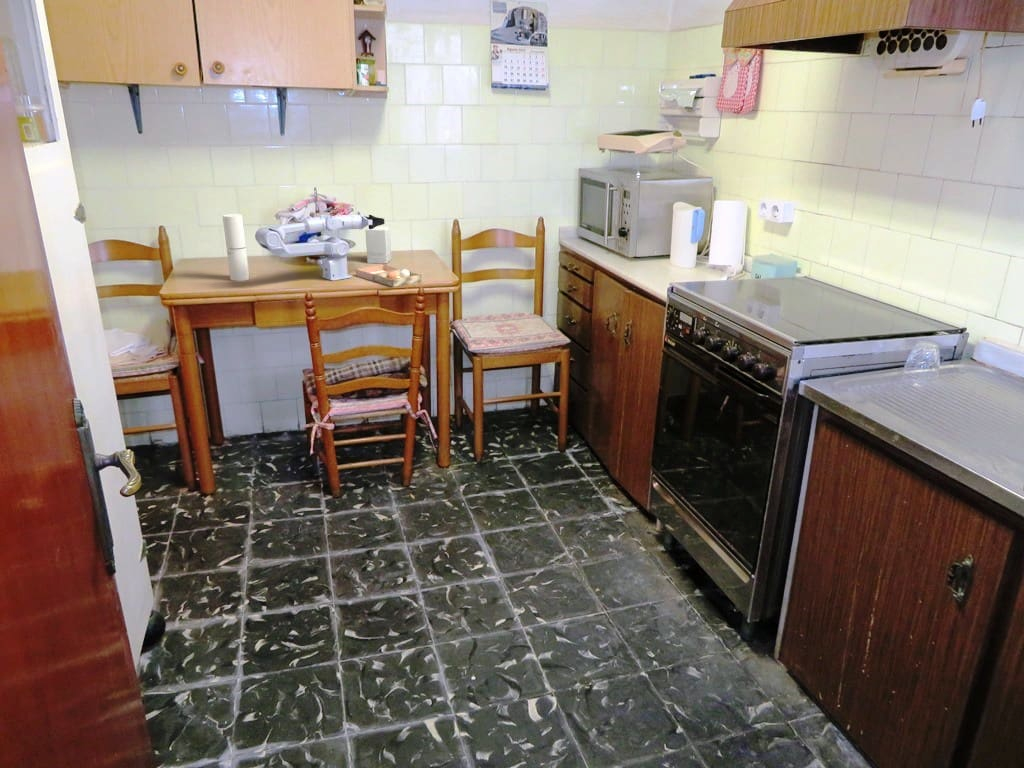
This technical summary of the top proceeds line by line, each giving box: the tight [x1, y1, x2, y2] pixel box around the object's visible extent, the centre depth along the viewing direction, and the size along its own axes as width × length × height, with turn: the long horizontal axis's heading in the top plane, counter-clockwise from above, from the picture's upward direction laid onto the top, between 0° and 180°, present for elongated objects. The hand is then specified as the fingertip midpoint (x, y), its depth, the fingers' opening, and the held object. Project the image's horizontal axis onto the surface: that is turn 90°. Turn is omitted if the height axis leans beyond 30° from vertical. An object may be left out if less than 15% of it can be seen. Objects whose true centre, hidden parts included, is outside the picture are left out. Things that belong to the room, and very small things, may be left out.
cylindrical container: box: [222, 213, 250, 282], centre depth 285 cm, size 7×7×25 cm
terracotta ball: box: [387, 272, 397, 280], centre depth 288 cm, size 4×4×4 cm
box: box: [373, 269, 423, 288], centre depth 290 cm, size 14×12×3 cm
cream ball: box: [400, 269, 410, 278], centre depth 292 cm, size 4×4×4 cm
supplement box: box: [365, 226, 392, 265], centre depth 321 cm, size 9×9×15 cm
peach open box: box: [355, 264, 403, 282], centre depth 299 cm, size 14×12×3 cm
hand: (379, 220), depth 299 cm, fingers open, 7 cm apart
